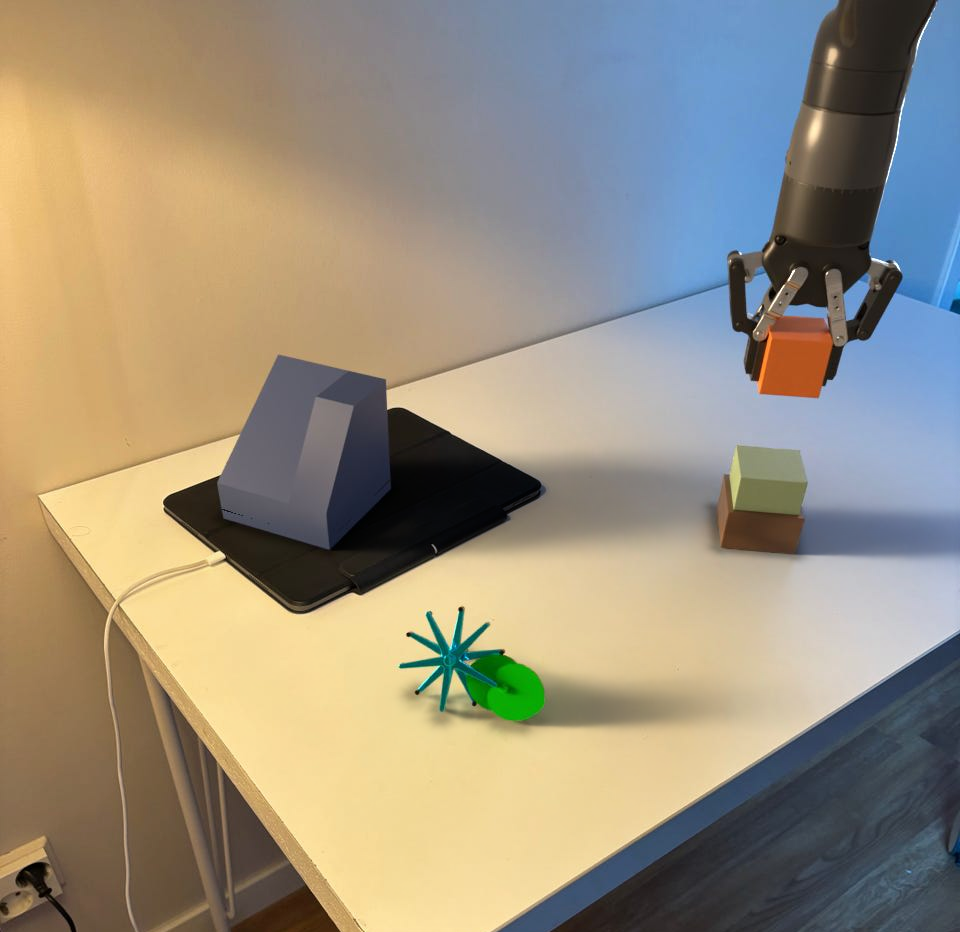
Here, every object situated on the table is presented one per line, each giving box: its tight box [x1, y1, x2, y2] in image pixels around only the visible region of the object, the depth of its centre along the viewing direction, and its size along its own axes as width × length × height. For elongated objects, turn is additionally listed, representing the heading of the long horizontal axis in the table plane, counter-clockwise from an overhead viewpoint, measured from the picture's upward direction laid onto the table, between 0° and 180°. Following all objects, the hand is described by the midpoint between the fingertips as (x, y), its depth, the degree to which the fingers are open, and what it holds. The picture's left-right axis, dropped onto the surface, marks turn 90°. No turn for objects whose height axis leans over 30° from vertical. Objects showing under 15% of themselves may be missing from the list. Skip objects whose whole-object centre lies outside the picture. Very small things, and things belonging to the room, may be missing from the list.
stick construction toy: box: [398, 605, 546, 722], centre depth 78 cm, size 12×7×8 cm
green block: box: [729, 444, 809, 515], centre depth 92 cm, size 6×6×4 cm
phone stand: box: [216, 354, 392, 551], centre depth 94 cm, size 12×12×12 cm
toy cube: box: [756, 315, 833, 399], centre depth 84 cm, size 5×5×5 cm
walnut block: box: [716, 473, 806, 555], centre depth 95 cm, size 7×7×4 cm
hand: (787, 379), depth 85 cm, fingers closed on toy cube, 5 cm apart
